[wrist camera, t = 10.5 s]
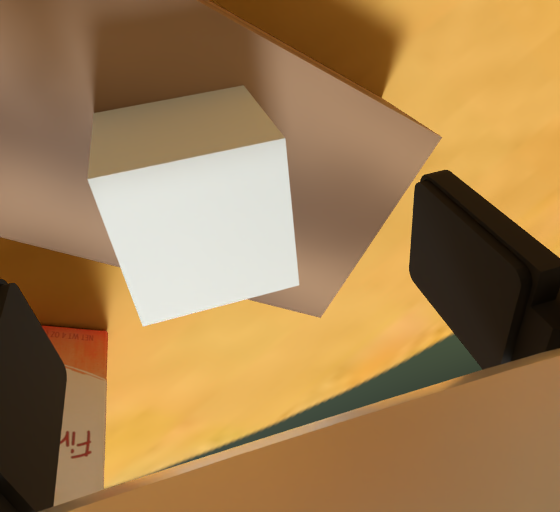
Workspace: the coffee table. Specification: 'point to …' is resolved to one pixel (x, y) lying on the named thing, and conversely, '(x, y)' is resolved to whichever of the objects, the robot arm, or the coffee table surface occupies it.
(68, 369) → the cracker box
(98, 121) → the white cube
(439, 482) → the robot arm
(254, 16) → the coffee table surface
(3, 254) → the coffee table surface
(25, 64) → the walnut block
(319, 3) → the coffee table surface
